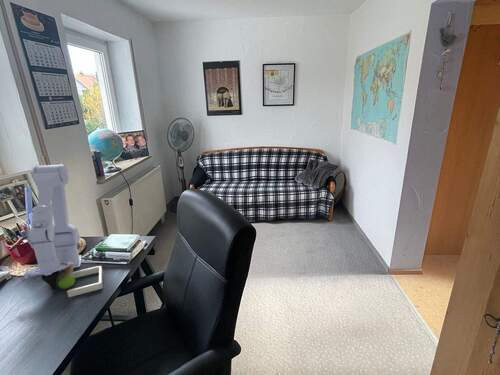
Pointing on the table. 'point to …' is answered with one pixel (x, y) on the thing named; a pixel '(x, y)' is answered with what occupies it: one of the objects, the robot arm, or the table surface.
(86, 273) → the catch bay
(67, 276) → the snail figurine
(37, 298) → the table surface
